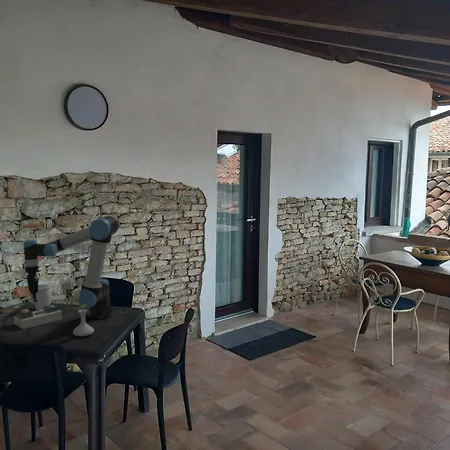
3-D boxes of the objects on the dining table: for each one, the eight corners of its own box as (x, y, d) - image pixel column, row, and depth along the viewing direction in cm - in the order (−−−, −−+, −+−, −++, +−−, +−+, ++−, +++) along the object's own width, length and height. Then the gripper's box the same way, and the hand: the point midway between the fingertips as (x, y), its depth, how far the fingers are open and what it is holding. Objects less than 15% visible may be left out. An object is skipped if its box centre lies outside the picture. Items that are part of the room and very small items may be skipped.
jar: (46, 311, 305) (44, 288, 303) (31, 310, 307) (30, 288, 305) (55, 306, 315) (54, 284, 313) (41, 305, 317) (40, 283, 315)
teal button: (55, 309, 290) (55, 306, 290) (49, 311, 287) (48, 307, 287) (52, 307, 293) (52, 304, 293) (45, 309, 290) (45, 306, 290)
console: (62, 319, 290) (61, 307, 289) (23, 329, 273) (22, 316, 272) (52, 314, 298) (52, 303, 297) (14, 324, 281) (13, 312, 280)
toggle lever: (40, 310, 285) (37, 297, 286) (37, 311, 283) (34, 298, 284) (39, 311, 286) (36, 298, 287) (35, 312, 285) (32, 299, 285)
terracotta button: (30, 313, 279) (30, 310, 279) (22, 315, 276) (22, 312, 275) (26, 311, 282) (26, 308, 282) (19, 313, 279) (19, 310, 278)
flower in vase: (86, 329, 272) (84, 287, 269) (98, 333, 265) (96, 290, 262) (66, 335, 262) (64, 292, 259) (78, 340, 255) (76, 295, 252)
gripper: (20, 265, 286) (23, 302, 290) (30, 268, 277) (32, 307, 281) (33, 263, 292) (35, 300, 295) (42, 266, 283) (44, 304, 286)
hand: (34, 303), depth 288 cm, fingers closed
